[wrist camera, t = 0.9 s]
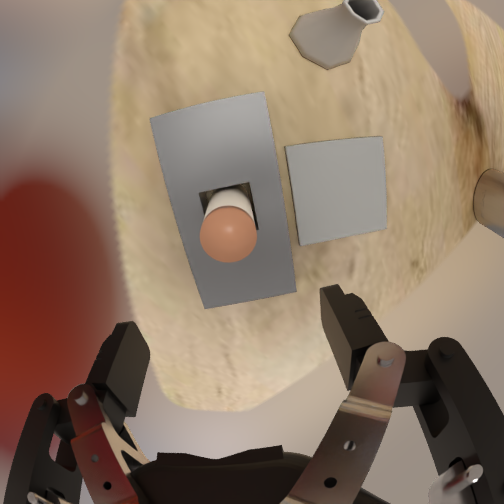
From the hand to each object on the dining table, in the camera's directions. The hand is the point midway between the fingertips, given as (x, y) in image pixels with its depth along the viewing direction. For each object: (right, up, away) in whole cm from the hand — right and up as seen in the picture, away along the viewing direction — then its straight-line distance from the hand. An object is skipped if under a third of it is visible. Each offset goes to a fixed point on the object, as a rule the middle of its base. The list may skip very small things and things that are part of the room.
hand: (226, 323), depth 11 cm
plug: (-1, +8, +17) cm, 19 cm away
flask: (+9, +25, +10) cm, 28 cm away
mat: (+11, +10, +17) cm, 23 cm away
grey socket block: (-1, +8, +17) cm, 19 cm away
